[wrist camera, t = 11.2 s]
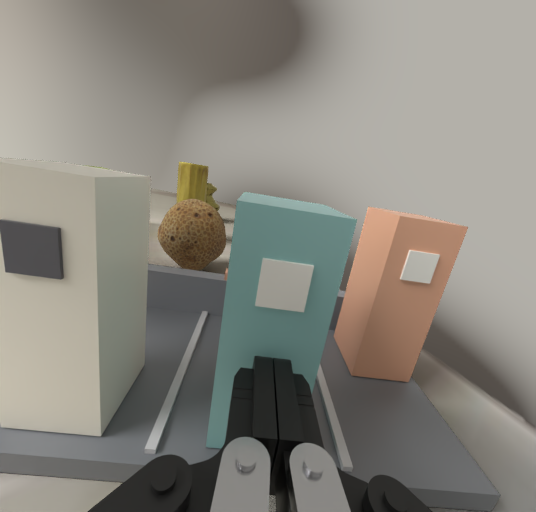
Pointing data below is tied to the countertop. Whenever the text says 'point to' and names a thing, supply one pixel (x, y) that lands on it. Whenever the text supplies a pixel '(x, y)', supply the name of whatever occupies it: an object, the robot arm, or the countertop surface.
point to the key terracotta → (394, 291)
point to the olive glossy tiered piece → (209, 198)
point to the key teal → (278, 291)
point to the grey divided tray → (200, 397)
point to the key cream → (70, 293)
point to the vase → (192, 182)
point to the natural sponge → (192, 234)
